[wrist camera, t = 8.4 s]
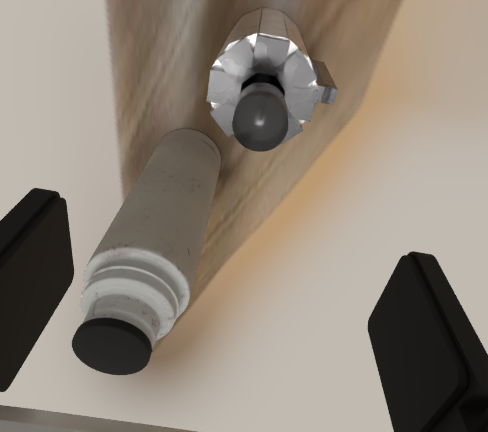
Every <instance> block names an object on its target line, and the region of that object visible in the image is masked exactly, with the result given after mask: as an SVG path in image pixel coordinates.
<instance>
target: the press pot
mask: <svg viewBox="0 0 488 432" xmlns="http://www.w3.org/2000/svg"><path fill="white" fill-rule="evenodd" d="M256 73H262V74H267V75H272V76H276V78H277V79H276V80H274V81H272V82H269V84H271V85H273V86H275V87H277V88H278V89H279V90H280V91H281V92H282V94H283V95H284V97H285V100H286V105H287V114H288V131H287V134H286V136H285V138H284V140H283V141H282V142H281V143H280V144H282V143H284V142H285V141H287V140H289V139H290V138H292V137H294V136H295V135H297V134H299V133H300V132H302V131H303V130H302V125H301V124H302V123H303V122H304V121H309V122H310V120H311V117H312V113H313V110H314V106H315V103H316V101H317V102H322V103H327V104H332V105H333V103H334V100H335V96H336V93H337V90H338V89H337V87H336V85H335V83H334V81H333V79H332V77H331V75H330V73H329V71H328V69H327V67H326V65H325V63H324V62H319V61H315V60H310V58H309V55H308V53H307V50H306V48H305V45H304V42H303V40H302V37H301V35H300V32H299V30H298V27H297V25H296V24H295V23H294V22H293V21H292V20H291V19H290V18H289V17H288V16H287V15H286V14H285V13H284V12H282V11H278V10H273V9H269V8H264V7H263V9H262V7H261V8H259V9H256V10H254V11H251V12H249V13H246V14H244V15H242V17H241V18H240V19H239V21H238V22H237V23H236V25H235V26H234V27H233V29H232V30H231V31H230V33H229V35H228V37H227V39H226V41H225V43H224V45H223V47H222V49H221V51H220V52H219V54H218V56H217V58H216V60H215V62H214V64H213V66H212V68H211V71H210V79H209V87H208V95H207V102H211V105H212V107H213V108H212V109H211V111H210V114H211V115H212V117H213V118H214V119H215V121H216V122H217V123H218V125H219V126H220V127H221V129H222V130H223V131H224V133H225V134H226V135H227V137H228V136H230V135H232V134H234V132H233V128H232V121H233V116H234V112H235V107H236V103H237V99H238V97H239V95H240V93H241V92H242V91H243V90H244V89H245V88H246V87H248V86H250V85H252V84H255V83H256V82H255V81H253V80H251V79H250V77H252V76H253V75H254V74H256ZM237 143H239V141H238V142H237ZM280 144H279V145H280ZM279 145H278V146H279Z"/></svg>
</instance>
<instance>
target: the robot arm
mask: <svg viewBox="0 0 488 432" xmlns="http://www.w3.org/2000/svg"><path fill="white" fill-rule="evenodd" d="M73 277H74V266H73V257H72V248H71V239H70V231H69V222H68V214H67V205H66V200H65V199H64V198H60V195H59V193H58V192H56V191H51V190H45V189H39V188H34V189H32V190H31V191H30V192H29V193H28V194H27V195H26V196H25V197H24V198H23V199H22V200H21V201H20V202H19V203H18V204H17V205H16V206H15V207H14V208H13V209H12V210H11V211H10V212H9V213H8V214H7V215H6V216H5V217H4V218H3V219H2V220H1V221H0V392H4V391H6V390H7V389H8V388H9V386H10V385H11V383H12V381H13V380H14V378H15V376H16V375H17V373H18V371H19V370H20V368H21V366H22V365H23V363H24V361H25V360H26V358H27V356H28V355H29V353H30V351H31V350H32V348H33V346H34V345H35V343H36V341H37V340H38V338H39V336H40V335H41V333H42V331H43V330H44V328H45V326H46V325H47V323H48V321H49V320H50V318H51V316H52V315H53V313H54V311H55V309H56V308H57V306H58V305H59V303H60V301H61V300H62V298H63V296H64V294H65V293H66V291H67V290H68V288H69V286H70V285H71V283H72V280H73ZM368 332H369V336H370V340H371V344H372V348H373V352H374V356H375V360H376V364H377V367H378V371H379V375H380V379H381V383H382V387H383V391H384V395H385V399H386V402H387V406H388V410H389V414H390V418H391V422H392V426H393V429H394V432H488V354H487V353H486V351H485V349H484V347H483V345H482V343H481V341H480V340H479V338H478V336H477V334H476V332H475V331H474V329H473V327H472V325H471V323H470V321H469V319H468V317H467V315H466V314H465V312H464V310H463V308H462V306H461V305H460V302H459V301H458V299H457V297H456V295H455V294H454V291H453V289H452V288H451V286H450V284H449V282H448V280H447V278H446V276H445V275H444V273H443V271H442V269H441V267H440V265H439V263H438V261H437V260H436V258H435V257H434V256H433V255H431V254H425V253H419V252H410V253H409V254H408V255H407V256H406V255H404V256H402V257H401V258H400V260H399V262H398V264H397V266H396V268H395V270H394V272H393V274H392V275H391V277H390V279H389V281H388V283H387V285H386V287H385V289H384V291H383V293H382V295H381V297H380V298H379V300H378V302H377V304H376V306H375V308H374V310H373V312H372V314H371V316H370V318H369V320H368ZM0 432H196V431H189V430H182V429H174V428H167V427H160V426H153V425H146V424H138V423H132V422H124V421H117V420H110V419H103V418H95V417H88V416H81V415H72V414H66V413H59V412H51V411H44V410H36V409H27V408H19V407H10V406H2V405H0Z"/></svg>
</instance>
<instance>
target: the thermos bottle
mask: <svg viewBox="0 0 488 432" xmlns="http://www.w3.org/2000/svg"><path fill="white" fill-rule="evenodd" d="M220 167H221V157H220V153H219V150H218V148H217V146H216V145H215V143H214V142H213V141H212V140H211V139H210V138H209V137H208V136H206V135H205V134H203V133H201V132H199V131H196V130H193V129H178V130H175V131H172V132H170V133H168V134H167V135H166V136H164V137H163V138H162V140H161V141H160V142H159V144H158V146H157V147H156V149H155V151H154V152H153V154H152V156H151V157H150V159H149V161H148V163H147V164H146V166H145V168H144V170H143V172H142V174H141V176H140V177H139V179H138V180H137V182H136V183H135V185H134V186H133V188H132V190H131V191H130V193H129V195H128V196H127V198H126V200H125V201H124V203H123V205H122V206H121V208H120V210H119V212H118V213H117V215H116V217H115V218H114V220H113V222H112V223H111V225H110V227H109V228H108V230H107V232H106V234H105V235H104V237H103V239H102V240H101V242H100V244H99V245H98V247H97V249H96V251H95V252H94V254H93V256H92V257H91V259H90V261H89V262H88V264H87V266H86V269H85V272H84V287H83V290H82V298H81V308H82V312H83V314H84V316H85V319H84V321H83V324H81V325H80V327H79V328H78V329H77V331H76V333H75V335H74V337H73V340H72V348H73V351H74V353H75V354H76V356H77V357H78V358H79V359H80V360H81V361H82V362H83V363H85V364H86V365H87V366H89V367H91V368H93V369H95V370H97V371H100V372H103V373H107V374H112V375H128V374H133V373H136V372H139V371H140V370H142V369H143V368H144V367H145V366H146V365H147V364H148V362H149V359H150V356H151V352H152V348H153V346H154V344H155V342H156V340H158V339H160V338H161V337H163V336H165V335H166V334H167V333H168V332H169V331H170V329H171V328H172V326H173V324H174V322H175V321H176V319H177V317H178V316H179V315H180V314H181V313H182V312H183V311H184V310H185V308H186V307H187V305H188V303H189V299H190V296H191V291H192V287H193V283H194V279H195V274H196V270H197V266H198V261H199V257H200V253H201V249H202V244H203V240H204V236H205V231H206V227H207V223H208V219H209V214H210V210H211V206H212V201H213V197H214V193H215V189H216V184H217V180H218V176H219V171H220Z"/></svg>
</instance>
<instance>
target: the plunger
mask: <svg viewBox="0 0 488 432" xmlns="http://www.w3.org/2000/svg"><path fill="white" fill-rule="evenodd" d="M250 79H251V80H253V81H255V82H256V83H255V84H252V85H250V86H248V87H246V88H245V89H244V90H243V91H242V92H241V93H240V95H239V97H238V99H237V103H236V107H235V112H234V116H233V121H232V128H233V132H234V135H235V137H236V139H237V140H238V141H239V143H240V144H241V145H243V146H244V147H246V148H247V149H250V150H253V151H268V150H271V149H273V148H275V147H277V146H278V145H279V144H280V143H281V142H282V141H283V140H284V138H285V136H286V134H287V131H288V114H287V105H286V100H285V97H284V95H283V94H282V92H281V91H280V90H279V89H278V88H277V87H275V86H273V85H271V84H269V82H272V81H274V80H276V79H277V78H276V76H272V75H267V74H262V73H256V74H254V75H253V76H252V77H250Z"/></svg>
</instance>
